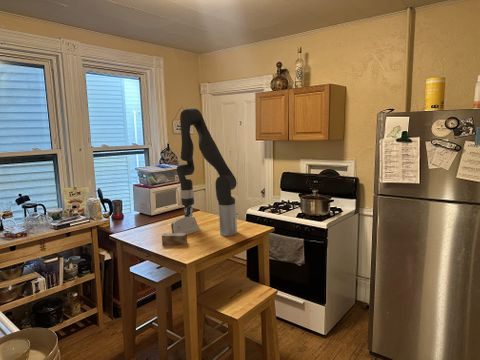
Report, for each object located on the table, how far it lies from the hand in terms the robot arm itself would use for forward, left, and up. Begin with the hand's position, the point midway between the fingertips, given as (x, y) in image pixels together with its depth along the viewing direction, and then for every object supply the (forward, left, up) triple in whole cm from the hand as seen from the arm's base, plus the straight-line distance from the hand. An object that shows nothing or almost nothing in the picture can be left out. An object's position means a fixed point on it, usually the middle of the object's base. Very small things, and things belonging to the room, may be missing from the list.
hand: (189, 224), depth 197 cm
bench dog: (0, +29, -2) cm, 29 cm away
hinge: (0, +10, -2) cm, 10 cm away
